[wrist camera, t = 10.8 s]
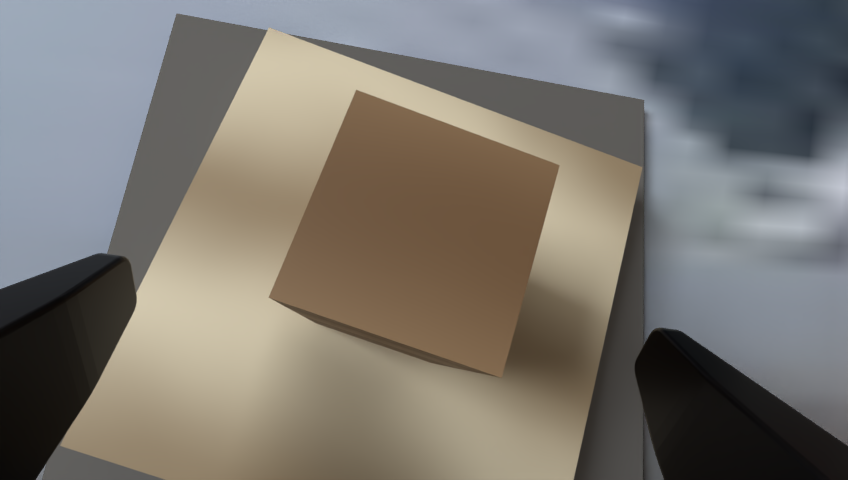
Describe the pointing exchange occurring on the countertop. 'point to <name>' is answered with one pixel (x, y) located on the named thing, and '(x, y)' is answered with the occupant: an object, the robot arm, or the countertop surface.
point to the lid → (368, 290)
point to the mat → (508, 95)
